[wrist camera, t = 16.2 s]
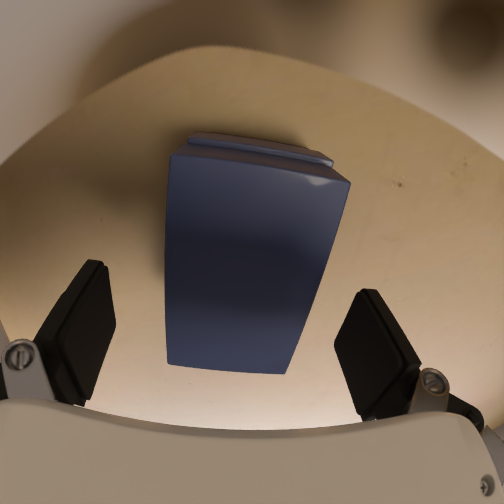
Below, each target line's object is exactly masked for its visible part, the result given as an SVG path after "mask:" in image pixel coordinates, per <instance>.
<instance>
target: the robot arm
mask: <svg viewBox="0 0 504 504" xmlns="http://www.w3.org/2000/svg"><path fill="white" fill-rule="evenodd" d="M115 328H116V319H115V313H114V307H113V301H112V294H111V287H110V279H109V271H108V267H107V266H104V263H103V262H102V261H98V260H90V259H88V260H87V261H86V262H85V264H84V265H83V266H82V268H81V269H80V270H79V272H78V273H77V275H76V276H75V277H74V279H73V280H72V282H71V283H70V285H69V286H68V288H67V289H66V291H65V292H63V294H62V295H61V296H60V298H59V299H58V301H57V302H56V304H55V305H54V307H53V308H52V310H51V312H50V313H49V315H48V316H47V318H46V320H45V321H44V323H43V324H42V326H41V328H40V329H39V331H38V333H37V334H36V336H35V338H34V340H33V341H30V340H28V339H17V340H15V341H12V342H11V343H9V344H8V345H7V346H6V347H5V349H4V350H3V352H2V355H1V363H0V504H504V492H503V489H502V485H503V483H504V441H503V440H502V439H501V438H500V437H499V436H498V435H497V434H496V433H495V432H494V431H493V430H492V429H491V428H489V427H488V426H487V425H486V426H485V427H484V419H483V416H482V414H481V412H480V411H479V410H478V409H477V408H475V407H474V406H472V405H470V404H468V403H466V402H465V401H463V400H461V399H459V398H457V397H456V396H454V395H452V394H450V393H449V390H450V388H449V383H448V380H447V379H446V377H445V376H444V375H443V374H442V373H441V372H440V371H438V370H436V369H433V368H425V369H423V370H422V371H420V369H419V367H420V366H421V364H422V363H421V361H420V359H419V358H418V356H417V354H416V352H415V351H414V349H413V347H412V346H411V344H410V342H409V340H408V339H407V337H406V335H405V334H404V332H403V330H402V329H401V327H400V325H399V324H398V322H397V321H396V319H395V317H394V316H393V314H392V313H391V311H390V309H389V308H388V306H387V305H386V303H385V302H384V300H383V298H382V297H381V295H380V294H379V292H378V291H377V290H376V289H365V288H364V289H362V290H360V292H357V293H356V295H355V298H354V300H353V302H352V304H351V307H350V309H349V311H348V313H347V316H346V318H345V320H344V322H343V324H342V326H341V328H340V330H339V333H338V335H337V337H336V339H335V341H334V348H335V351H336V354H337V357H338V360H339V363H340V365H341V368H342V371H343V374H344V377H345V380H346V382H347V385H348V388H349V391H350V394H351V397H352V400H353V403H354V406H355V409H356V412H357V414H358V415H361V418H362V421H363V422H361V423H354V424H347V425H338V426H329V427H319V428H306V429H289V430H227V429H210V428H197V427H187V426H178V425H169V424H162V423H155V422H149V421H143V420H137V419H132V418H127V417H121V416H116V415H111V414H107V413H102V412H98V411H94V410H90V409H86V408H82V407H84V406H85V402H86V400H90V399H91V397H92V394H93V390H94V387H95V384H96V381H97V378H98V375H99V372H100V369H101V367H102V364H103V361H104V358H105V355H106V353H107V350H108V347H109V344H110V342H111V339H112V337H113V334H114V331H115ZM73 404H75V405H79V406H82V407H78V406H73ZM375 419H376V420H375ZM372 420H373V421H372ZM366 421H367V422H366Z"/></svg>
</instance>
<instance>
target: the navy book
mask: <svg viewBox="0 0 504 504" xmlns="http://www.w3.org/2000/svg"><path fill="white" fill-rule="evenodd" d="M350 185H351V183H350V182H349V181H348V180H347V179H346V178H344V177H343V176H342V175H340V174H339V173H338V172H336V171H335V170H334V169H332V168H331V167H330V166H327V165H322V164H318V163H313V162H308V161H303V160H298V159H293V158H287V157H282V156H276V155H270V154H264V153H258V152H251V151H245V150H238V149H230V148H223V147H215V146H206V145H196V144H186V143H185V144H183V145H182V146H181V147H179V148H178V149H177V150H176V151H174V152H173V153H172V154H171V155H170V162H169V174H168V187H167V204H166V225H165V326H166V347H167V362H168V364H170V365H177V366H184V367H192V368H201V369H210V370H220V371H232V372H246V373H263V374H285V373H286V370H287V368H288V366H289V363H290V361H291V358H292V356H293V354H294V351H295V349H296V346H297V344H298V341H299V339H300V336H301V333H302V331H303V328H304V326H305V323H306V320H307V318H308V315H309V312H310V310H311V307H312V304H313V301H314V299H315V296H316V293H317V290H318V287H319V285H320V282H321V279H322V276H323V273H324V270H325V267H326V264H327V261H328V258H329V255H330V252H331V249H332V246H333V243H334V240H335V236H336V233H337V230H338V227H339V223H340V220H341V217H342V213H343V210H344V206H345V203H346V200H347V196H348V192H349V189H350Z"/></svg>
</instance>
